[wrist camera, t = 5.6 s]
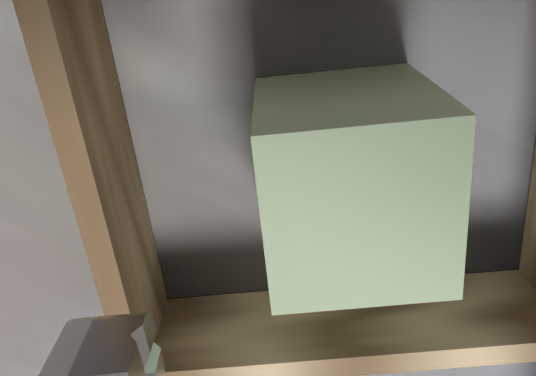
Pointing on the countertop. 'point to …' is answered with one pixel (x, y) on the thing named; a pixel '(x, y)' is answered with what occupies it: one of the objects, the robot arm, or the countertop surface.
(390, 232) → the block
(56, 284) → the countertop surface
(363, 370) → the wooden frame
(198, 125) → the countertop surface
